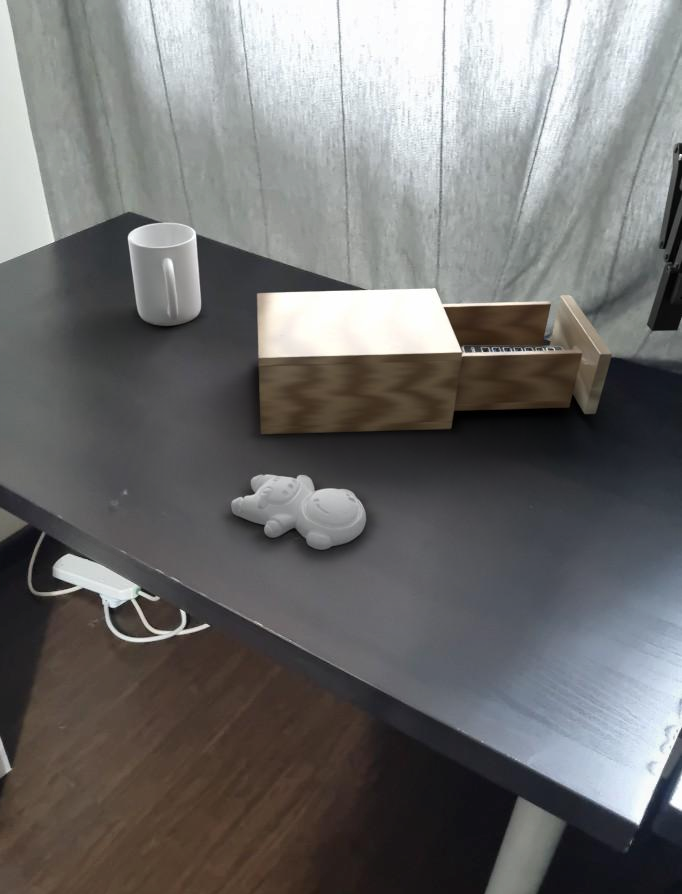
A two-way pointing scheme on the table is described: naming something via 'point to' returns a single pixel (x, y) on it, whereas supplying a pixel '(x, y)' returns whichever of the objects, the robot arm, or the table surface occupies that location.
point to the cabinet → (356, 361)
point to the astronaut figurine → (302, 510)
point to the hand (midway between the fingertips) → (662, 327)
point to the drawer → (528, 357)
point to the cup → (165, 273)
